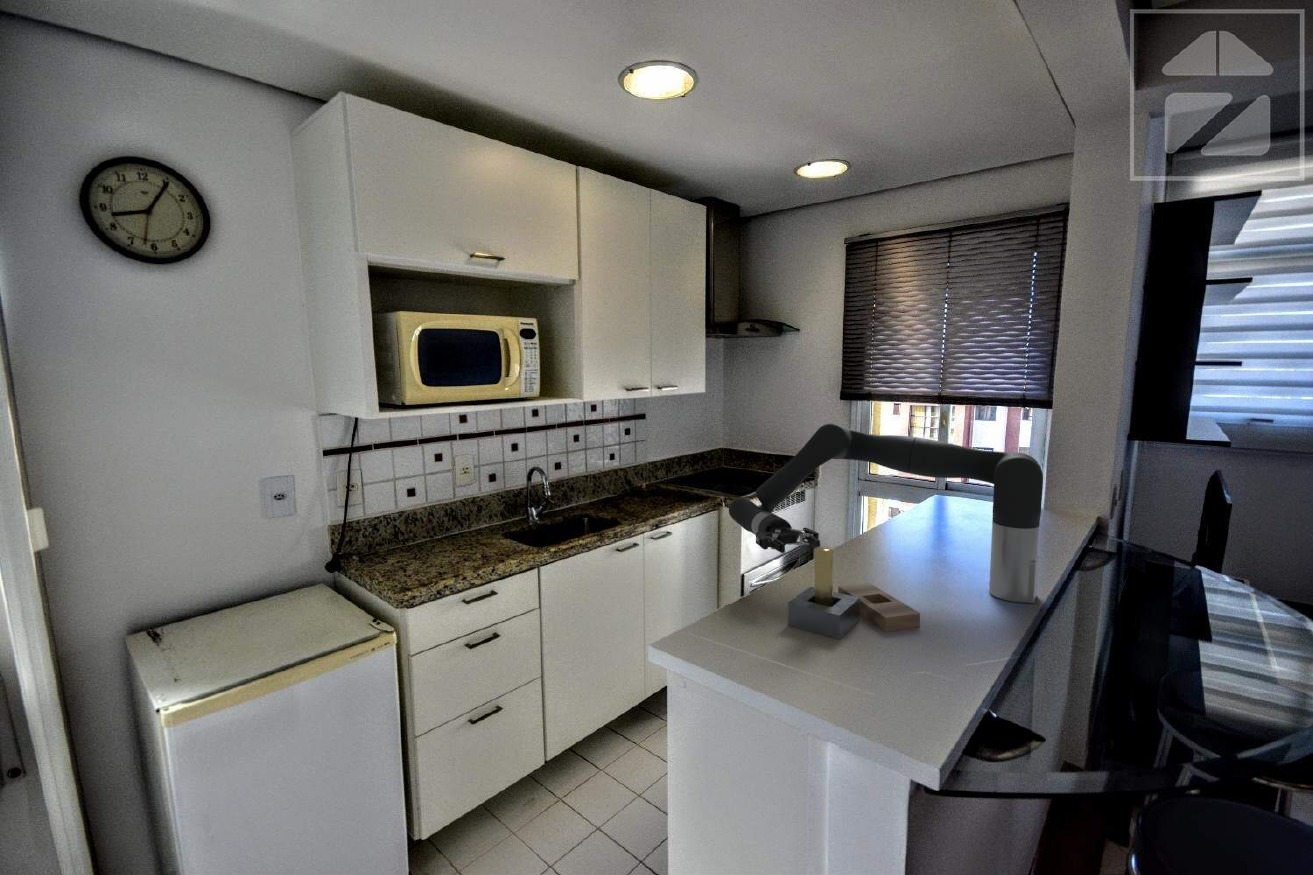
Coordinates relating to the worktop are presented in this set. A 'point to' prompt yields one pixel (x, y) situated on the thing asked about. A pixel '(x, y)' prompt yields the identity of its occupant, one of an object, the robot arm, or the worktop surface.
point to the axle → (824, 576)
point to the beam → (882, 607)
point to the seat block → (823, 614)
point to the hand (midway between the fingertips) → (801, 546)
